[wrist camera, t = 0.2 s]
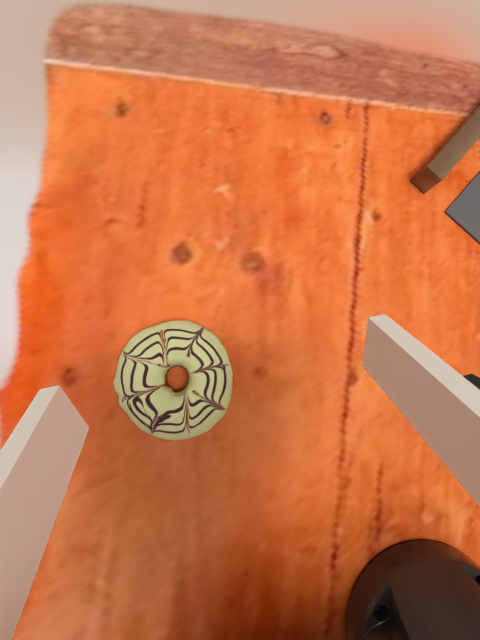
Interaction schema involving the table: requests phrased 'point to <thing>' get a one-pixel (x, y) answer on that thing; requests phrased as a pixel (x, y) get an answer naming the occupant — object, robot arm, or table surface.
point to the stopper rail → (449, 153)
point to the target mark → (468, 209)
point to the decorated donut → (153, 390)
